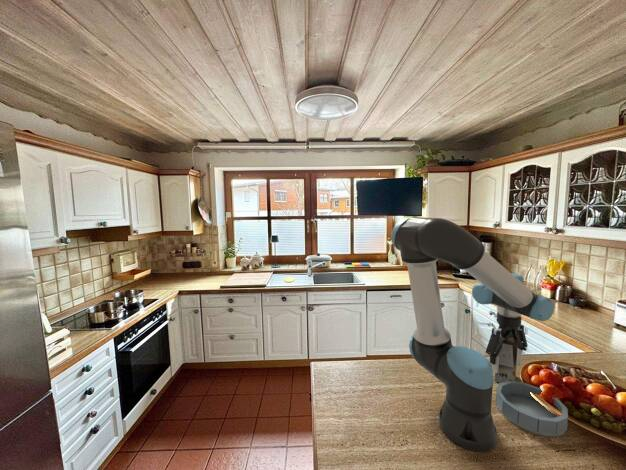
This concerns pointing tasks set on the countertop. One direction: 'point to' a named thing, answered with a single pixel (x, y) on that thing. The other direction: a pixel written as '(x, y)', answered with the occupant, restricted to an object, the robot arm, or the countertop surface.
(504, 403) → the bowl
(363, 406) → the countertop surface
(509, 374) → the coffee box
